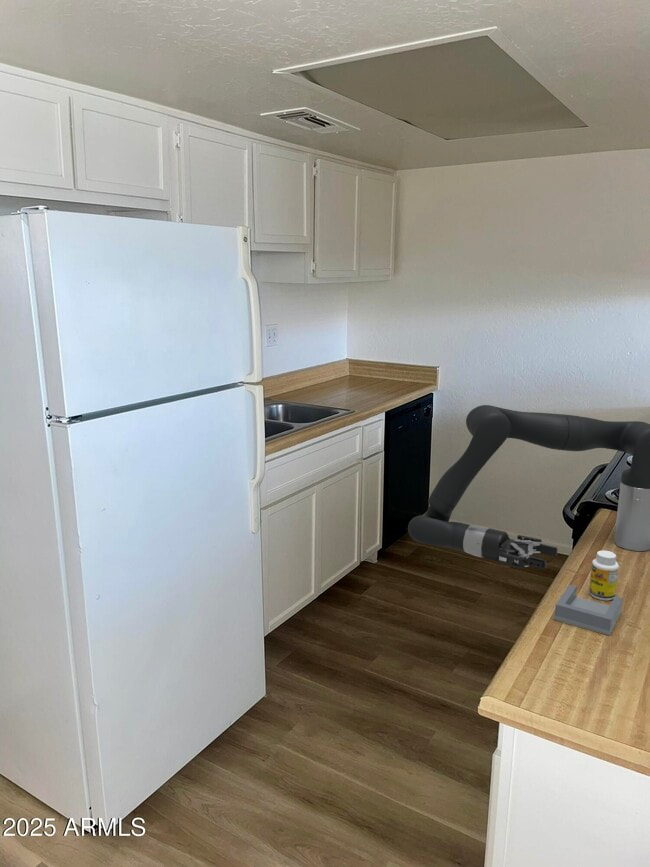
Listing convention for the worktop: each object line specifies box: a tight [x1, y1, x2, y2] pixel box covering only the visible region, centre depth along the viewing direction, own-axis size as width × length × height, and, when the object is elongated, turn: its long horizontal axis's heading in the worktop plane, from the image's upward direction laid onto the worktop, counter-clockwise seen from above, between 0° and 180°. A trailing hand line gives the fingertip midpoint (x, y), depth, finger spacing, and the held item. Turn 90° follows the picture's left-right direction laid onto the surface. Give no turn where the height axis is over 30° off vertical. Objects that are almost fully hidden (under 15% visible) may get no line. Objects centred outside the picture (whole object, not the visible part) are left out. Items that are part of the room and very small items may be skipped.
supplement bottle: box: [588, 550, 620, 601], centre depth 148 cm, size 6×6×10 cm
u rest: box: [553, 584, 623, 636], centre depth 140 cm, size 11×11×4 cm
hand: (551, 558), depth 155 cm, fingers open, 8 cm apart
